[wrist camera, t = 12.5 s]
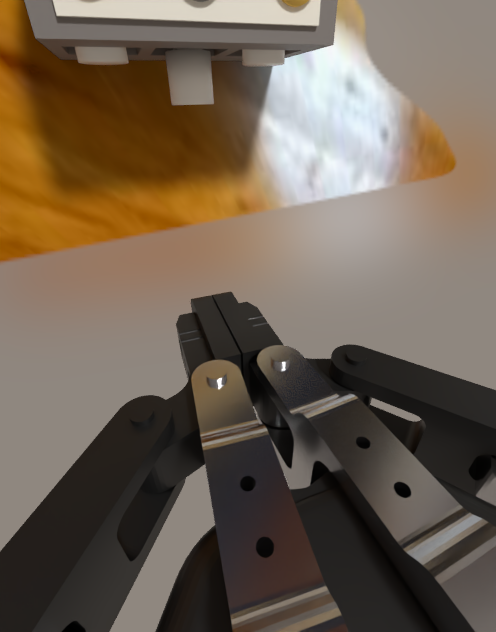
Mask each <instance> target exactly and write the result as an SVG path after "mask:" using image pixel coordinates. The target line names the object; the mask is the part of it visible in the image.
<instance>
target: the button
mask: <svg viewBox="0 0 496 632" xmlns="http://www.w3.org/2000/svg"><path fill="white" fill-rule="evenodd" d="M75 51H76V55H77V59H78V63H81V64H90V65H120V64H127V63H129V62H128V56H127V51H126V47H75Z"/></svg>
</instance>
